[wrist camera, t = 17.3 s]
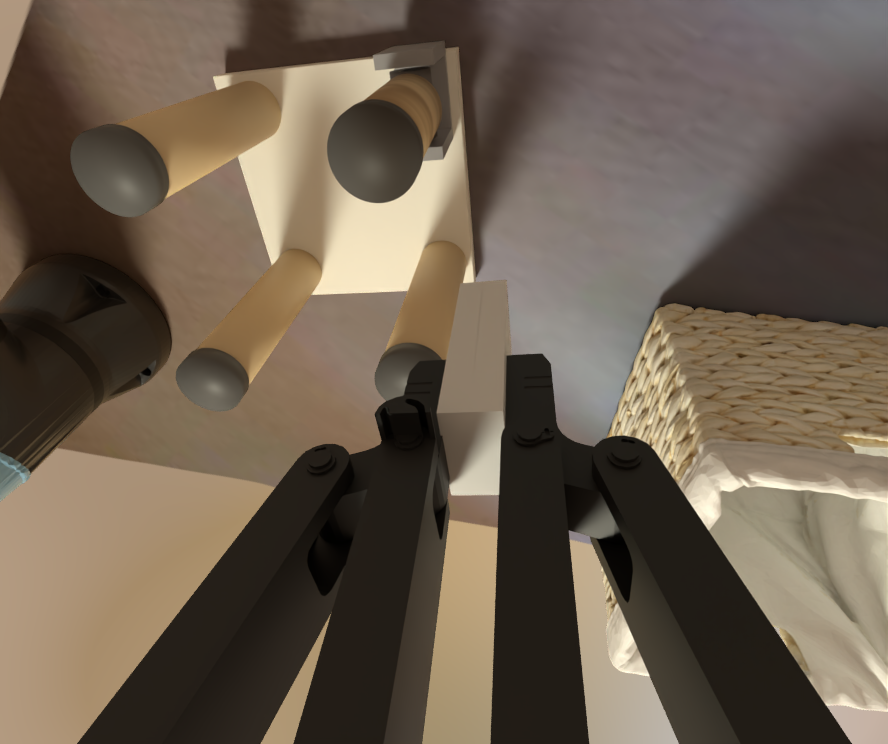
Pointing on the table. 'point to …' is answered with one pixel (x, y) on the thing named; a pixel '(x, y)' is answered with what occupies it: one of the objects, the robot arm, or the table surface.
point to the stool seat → (303, 207)
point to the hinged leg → (386, 137)
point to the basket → (778, 477)
